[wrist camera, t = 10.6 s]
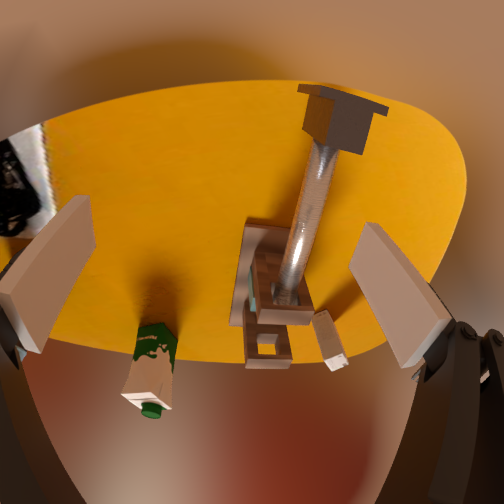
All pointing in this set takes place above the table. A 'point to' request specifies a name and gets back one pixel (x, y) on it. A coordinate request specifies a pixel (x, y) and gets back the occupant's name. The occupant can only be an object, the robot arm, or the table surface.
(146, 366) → the milk carton
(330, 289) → the table surface
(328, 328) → the skincare box
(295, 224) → the shaft
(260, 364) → the bearing stand
